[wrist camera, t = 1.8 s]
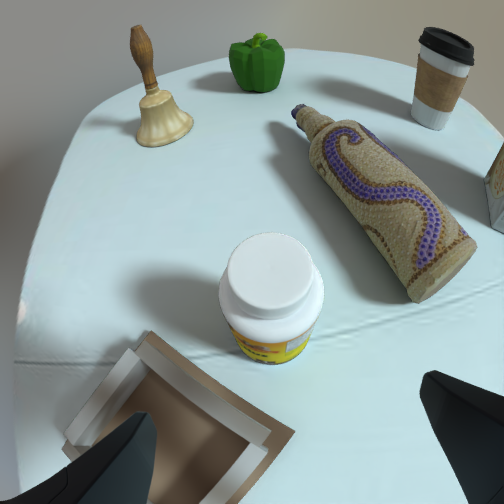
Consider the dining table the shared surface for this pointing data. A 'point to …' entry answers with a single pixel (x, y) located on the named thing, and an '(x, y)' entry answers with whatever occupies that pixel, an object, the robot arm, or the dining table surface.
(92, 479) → the robot arm
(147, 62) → the hand bell
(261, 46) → the bell pepper
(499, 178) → the coffee box
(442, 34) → the coffee cup
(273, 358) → the supplement bottle
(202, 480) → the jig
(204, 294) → the dining table surface
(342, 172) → the decorative bottle
